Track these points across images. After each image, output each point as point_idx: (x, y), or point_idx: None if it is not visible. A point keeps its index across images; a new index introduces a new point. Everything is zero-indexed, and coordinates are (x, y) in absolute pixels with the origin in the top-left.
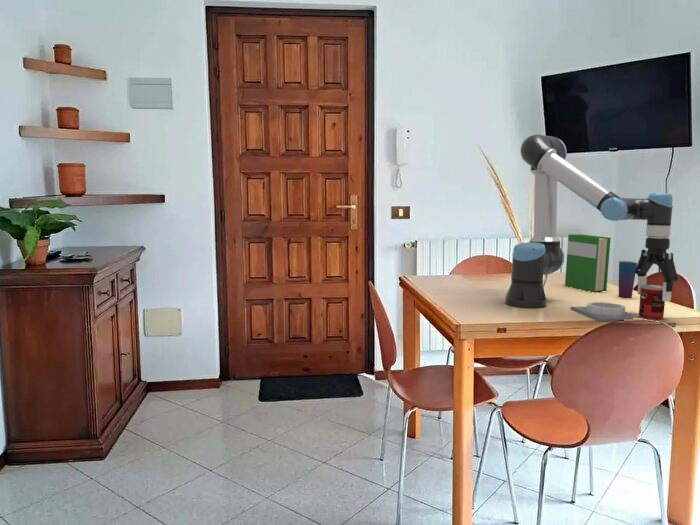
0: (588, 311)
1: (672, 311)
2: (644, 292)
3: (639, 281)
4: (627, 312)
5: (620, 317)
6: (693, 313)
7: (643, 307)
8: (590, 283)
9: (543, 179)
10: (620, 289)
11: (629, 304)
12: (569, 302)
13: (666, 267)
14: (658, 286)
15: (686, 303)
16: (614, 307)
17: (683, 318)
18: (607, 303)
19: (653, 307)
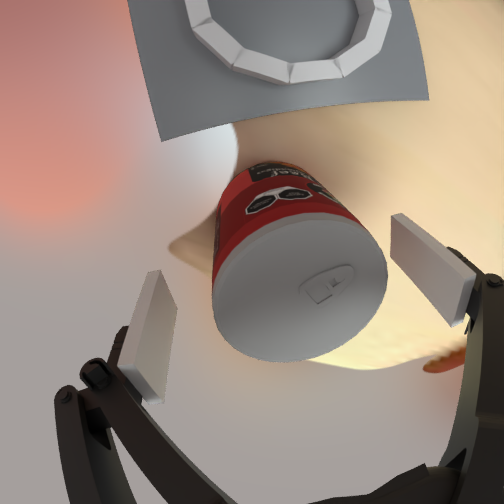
0: None
1: (375, 323)
2: (267, 208)
3: (443, 256)
4: (297, 108)
5: (152, 30)
6: (342, 365)
7: (254, 177)
8: None
9: None
10: None
11: (479, 228)
12: (495, 25)
13: (94, 491)
14: (333, 338)
15: (444, 368)
16: (336, 55)
17: None
18: (366, 30)
19: (217, 221)
